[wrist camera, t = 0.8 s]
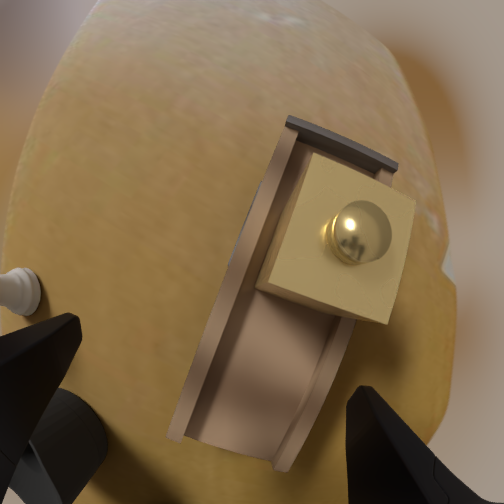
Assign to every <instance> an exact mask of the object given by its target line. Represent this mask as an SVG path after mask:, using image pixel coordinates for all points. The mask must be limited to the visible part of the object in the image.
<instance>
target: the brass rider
mask: <svg viewBox="0 0 504 504" xmlns="http://www.w3.org/2000/svg"><path fill="white" fill-rule="evenodd" d="M415 206H416V201H415V200H413V199H411V198H409V197H407V196H406V195H404V194H402V193H400V192H398V191H396V190H394V189H392V188H390V187H388V186H386V185H384V184H382V183H380V182H378V181H376V180H374V179H372V178H370V177H368V176H366V175H364V174H362V173H360V172H357V171H355V170H353V169H351V168H349V167H346V166H344V165H342V164H340V163H337V162H335V161H333V160H330V159H328V158H326V157H323V156H321V155H318V154H316V153H313V155H312V156H311V158H310V160H309V162H308V164H307V166H306V168H305V170H304V172H303V173H302V175H301V177H300V179H299V181H298V183H297V185H296V187H295V189H294V191H293V192H292V194H291V196H290V198H289V200H288V202H287V204H286V206H285V207H284V209H283V211H282V213H281V216H280V219H279V222H278V224H277V227H276V230H275V232H274V235H273V238H272V241H271V243H270V246H269V249H268V251H267V254H266V257H265V260H264V262H263V265H262V268H261V270H260V273H259V276H258V278H257V281H256V284H255V286H254V288H255V289H258V290H261V291H263V292H266V293H269V294H272V295H274V296H277V297H280V298H282V299H285V300H288V301H291V302H294V303H296V304H299V305H302V306H305V307H308V308H310V309H313V310H316V311H319V312H322V313H326V314H331V315H336V316H341V317H346V318H352V319H357V320H363V321H368V322H374V323H380V324H385V325H387V324H388V321H389V318H390V315H391V311H392V308H393V305H394V301H395V298H396V294H397V291H398V287H399V283H400V279H401V275H402V271H403V267H404V263H405V259H406V254H407V250H408V245H409V240H410V235H411V230H412V224H413V218H414V212H415Z"/></svg>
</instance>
